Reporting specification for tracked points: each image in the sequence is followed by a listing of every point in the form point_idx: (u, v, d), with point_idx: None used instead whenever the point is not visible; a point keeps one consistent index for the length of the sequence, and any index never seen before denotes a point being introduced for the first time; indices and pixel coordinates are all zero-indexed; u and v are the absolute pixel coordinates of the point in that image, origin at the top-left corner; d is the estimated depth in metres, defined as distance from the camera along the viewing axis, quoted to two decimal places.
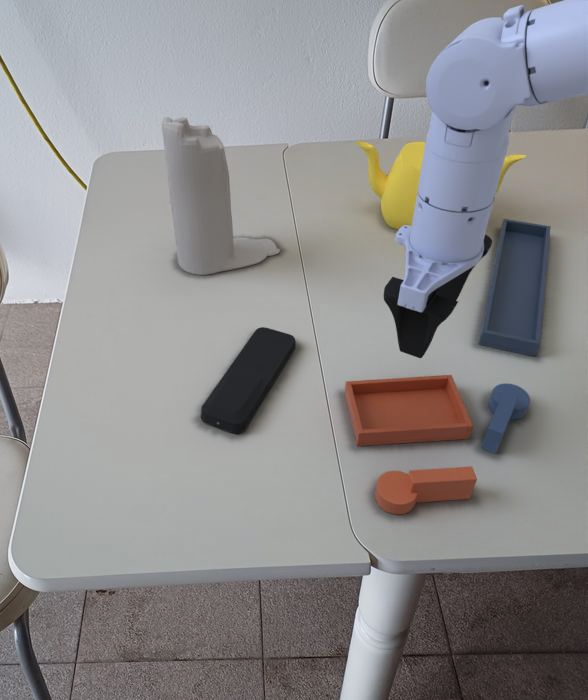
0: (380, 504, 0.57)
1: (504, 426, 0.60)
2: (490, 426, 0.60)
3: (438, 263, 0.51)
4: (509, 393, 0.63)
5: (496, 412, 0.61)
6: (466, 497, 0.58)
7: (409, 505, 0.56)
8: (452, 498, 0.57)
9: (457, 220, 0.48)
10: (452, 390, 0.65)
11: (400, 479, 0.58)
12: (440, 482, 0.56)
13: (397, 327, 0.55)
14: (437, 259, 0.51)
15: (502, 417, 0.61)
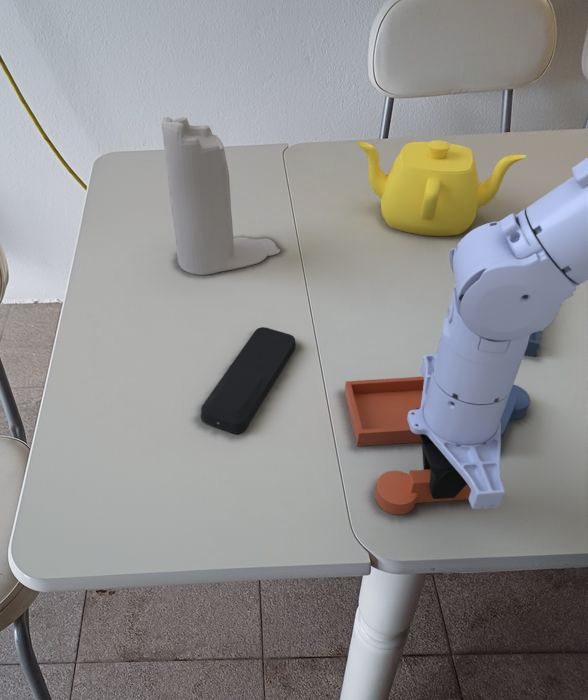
0: (380, 504, 0.57)
1: (504, 426, 0.60)
2: None
3: (478, 446, 0.49)
4: None
5: None
6: (466, 498, 0.58)
7: (409, 505, 0.56)
8: (452, 498, 0.57)
9: (497, 407, 0.47)
10: None
11: (400, 479, 0.58)
12: None
13: (435, 484, 0.54)
14: (476, 442, 0.49)
15: (502, 417, 0.61)
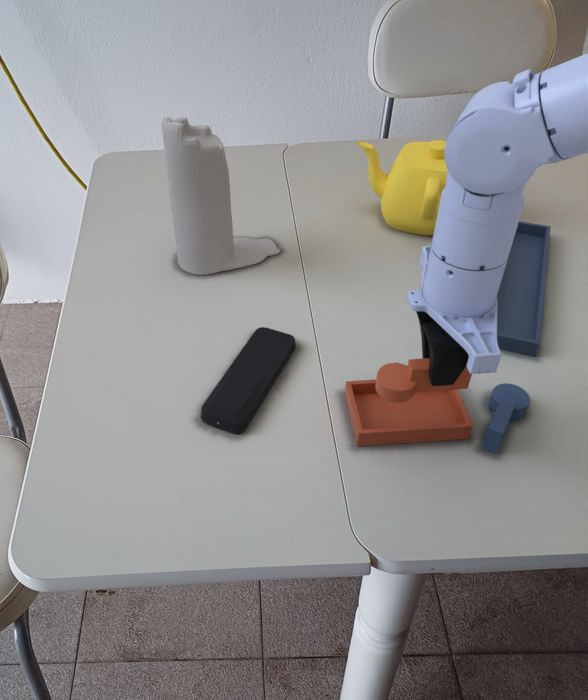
0: (380, 393, 0.59)
1: (504, 426, 0.60)
2: (490, 426, 0.60)
3: (475, 318, 0.51)
4: (509, 393, 0.63)
5: (496, 412, 0.61)
6: (463, 387, 0.59)
7: (408, 392, 0.58)
8: (450, 387, 0.59)
9: (493, 275, 0.48)
10: (452, 390, 0.65)
11: (400, 369, 0.59)
12: None
13: (434, 366, 0.56)
14: (473, 315, 0.51)
15: (502, 417, 0.61)
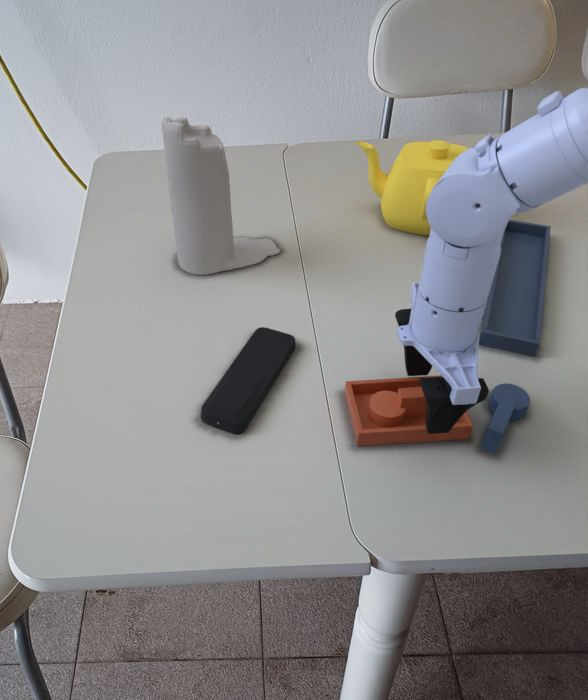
0: (372, 419, 0.64)
1: (504, 426, 0.60)
2: (490, 426, 0.60)
3: (458, 353, 0.56)
4: (509, 393, 0.63)
5: (496, 412, 0.61)
6: None
7: (398, 418, 0.63)
8: None
9: (474, 315, 0.53)
10: None
11: (391, 397, 0.64)
12: None
13: (431, 417, 0.58)
14: (456, 350, 0.55)
15: (502, 417, 0.61)
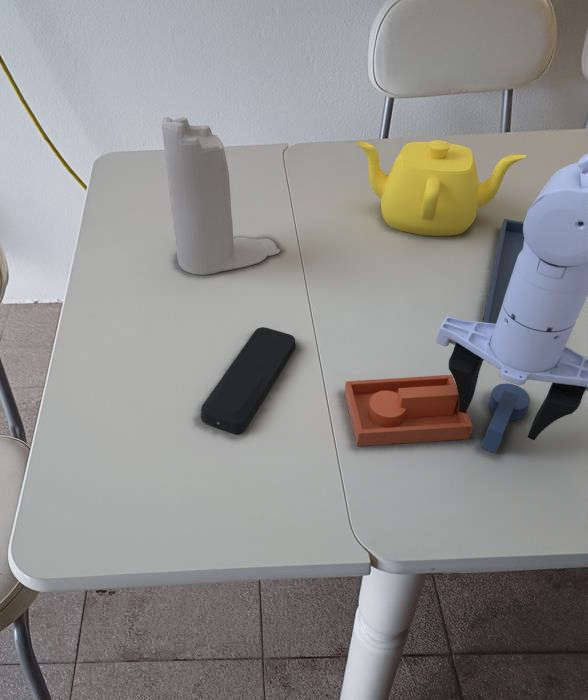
0: (372, 419, 0.64)
1: (504, 426, 0.60)
2: (490, 426, 0.60)
3: (561, 358, 0.55)
4: (509, 393, 0.63)
5: (496, 412, 0.61)
6: (449, 413, 0.64)
7: (398, 418, 0.63)
8: (437, 414, 0.64)
9: None
10: None
11: (391, 397, 0.64)
12: (426, 397, 0.62)
13: (548, 424, 0.58)
14: (560, 356, 0.55)
15: (502, 417, 0.61)
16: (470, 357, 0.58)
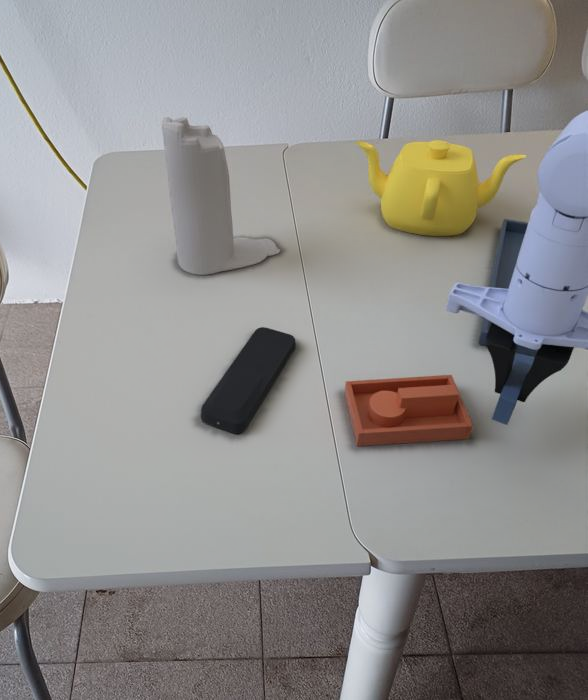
0: (372, 419, 0.64)
1: (516, 395, 0.57)
2: (501, 395, 0.57)
3: None
4: (521, 362, 0.60)
5: (507, 381, 0.58)
6: (449, 413, 0.64)
7: (398, 418, 0.63)
8: (437, 413, 0.64)
9: None
10: None
11: (391, 397, 0.64)
12: (426, 397, 0.62)
13: (538, 384, 0.56)
14: (577, 320, 0.52)
15: (514, 386, 0.58)
16: (509, 332, 0.55)
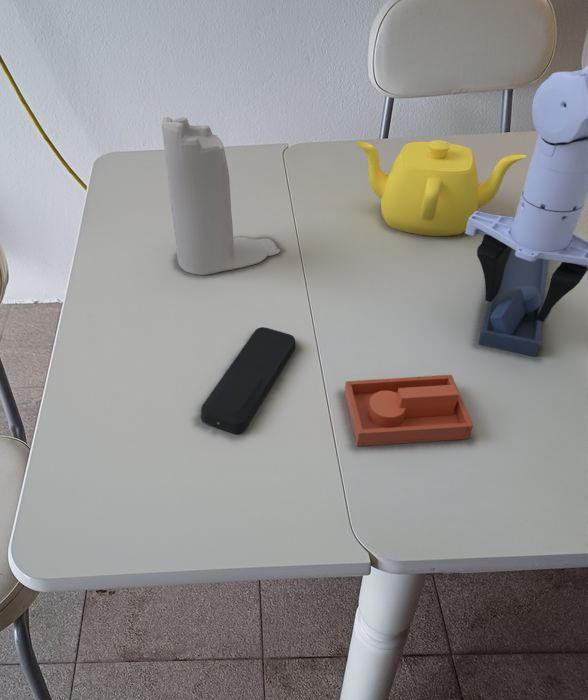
0: (372, 419, 0.64)
1: (503, 312, 0.71)
2: (491, 315, 0.71)
3: None
4: (512, 289, 0.74)
5: (498, 305, 0.72)
6: (449, 413, 0.64)
7: (398, 418, 0.63)
8: (437, 413, 0.64)
9: None
10: None
11: (391, 397, 0.64)
12: (426, 397, 0.62)
13: (554, 304, 0.67)
14: (570, 242, 0.64)
15: (502, 307, 0.72)
16: (496, 246, 0.68)
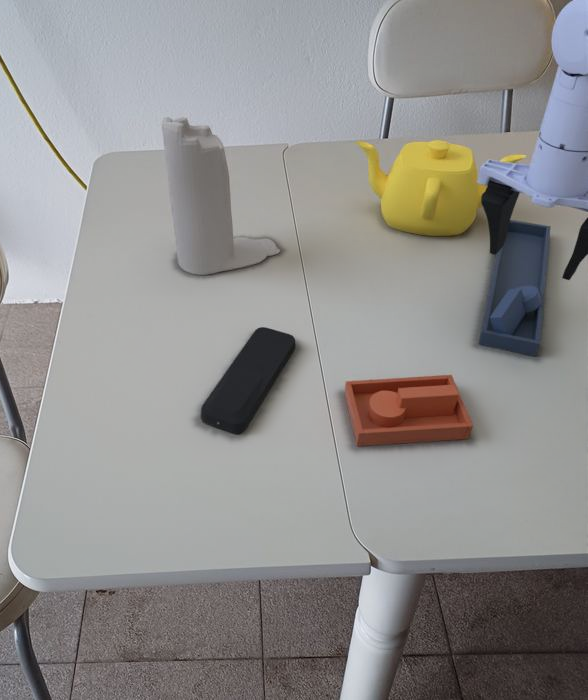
0: (372, 419, 0.64)
1: (503, 312, 0.71)
2: (491, 315, 0.71)
3: None
4: (512, 289, 0.74)
5: (498, 305, 0.72)
6: (449, 413, 0.64)
7: (398, 418, 0.63)
8: (437, 413, 0.64)
9: None
10: None
11: (391, 397, 0.64)
12: (426, 397, 0.62)
13: (582, 259, 0.63)
14: None
15: (502, 307, 0.72)
16: (501, 192, 0.65)
